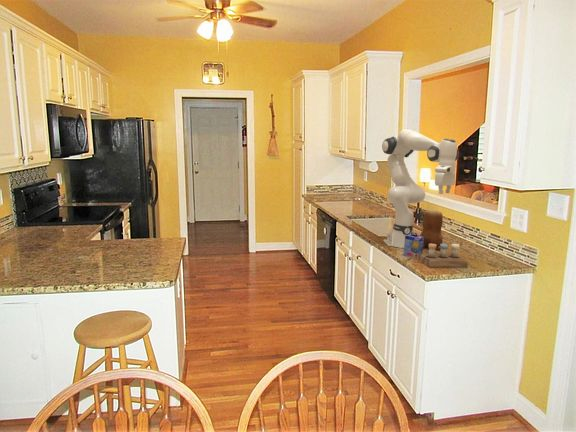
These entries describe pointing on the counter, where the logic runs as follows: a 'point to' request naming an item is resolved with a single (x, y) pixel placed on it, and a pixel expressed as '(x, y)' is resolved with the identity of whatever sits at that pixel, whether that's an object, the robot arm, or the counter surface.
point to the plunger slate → (443, 250)
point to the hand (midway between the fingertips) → (444, 193)
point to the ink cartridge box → (413, 245)
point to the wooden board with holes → (442, 261)
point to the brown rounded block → (432, 228)
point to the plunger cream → (454, 250)
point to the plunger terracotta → (432, 250)
